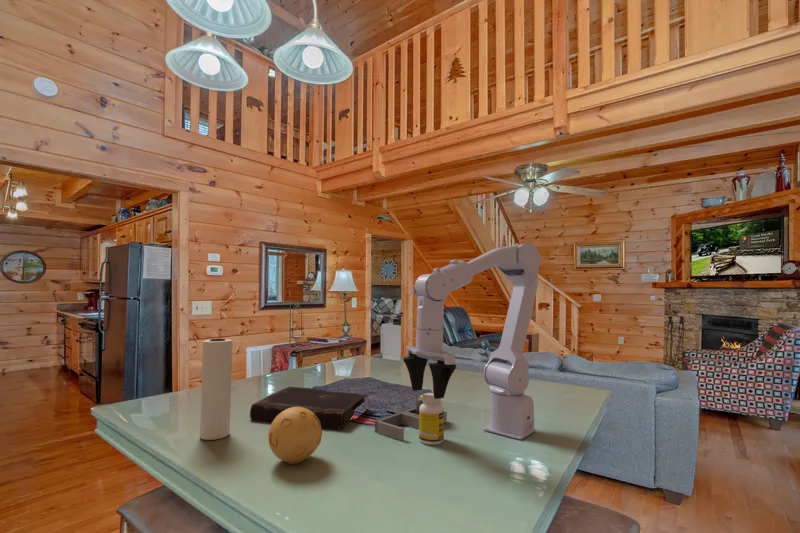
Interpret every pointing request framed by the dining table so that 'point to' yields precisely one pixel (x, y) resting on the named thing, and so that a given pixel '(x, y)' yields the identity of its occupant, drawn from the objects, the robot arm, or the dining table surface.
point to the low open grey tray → (401, 421)
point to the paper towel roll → (216, 389)
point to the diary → (309, 405)
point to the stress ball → (294, 434)
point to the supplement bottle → (431, 420)
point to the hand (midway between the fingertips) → (427, 393)
